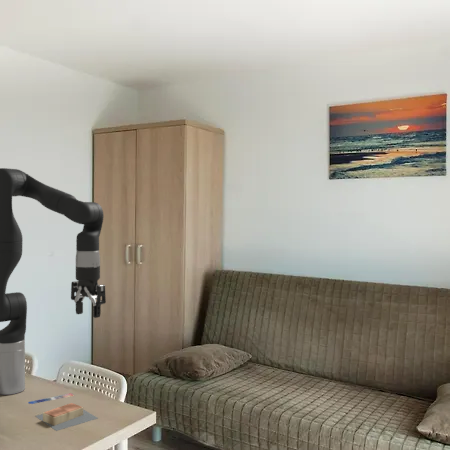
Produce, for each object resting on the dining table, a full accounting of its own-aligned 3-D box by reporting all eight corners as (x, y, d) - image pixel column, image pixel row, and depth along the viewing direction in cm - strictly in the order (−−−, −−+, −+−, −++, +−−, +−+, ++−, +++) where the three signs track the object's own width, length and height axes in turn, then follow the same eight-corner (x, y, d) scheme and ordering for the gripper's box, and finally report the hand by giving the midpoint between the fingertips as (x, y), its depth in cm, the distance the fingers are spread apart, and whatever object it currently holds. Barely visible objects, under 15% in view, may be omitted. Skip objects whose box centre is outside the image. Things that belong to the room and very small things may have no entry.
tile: (72, 410, 159) (42, 420, 151) (71, 402, 159) (42, 412, 151) (83, 414, 156) (54, 425, 148) (83, 406, 155) (54, 417, 148)
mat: (35, 417, 155) (35, 415, 155) (75, 406, 163) (75, 404, 163) (56, 432, 144) (56, 430, 144) (98, 420, 153) (98, 418, 153)
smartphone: (80, 399, 169) (32, 409, 160) (80, 402, 169) (32, 412, 160) (72, 392, 175) (25, 401, 166) (72, 395, 175) (25, 404, 166)
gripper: (64, 264, 167) (64, 314, 167) (92, 267, 158) (92, 320, 159) (83, 262, 173) (83, 311, 173) (112, 265, 164) (112, 316, 165)
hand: (87, 315), depth 166 cm, fingers open, 8 cm apart
